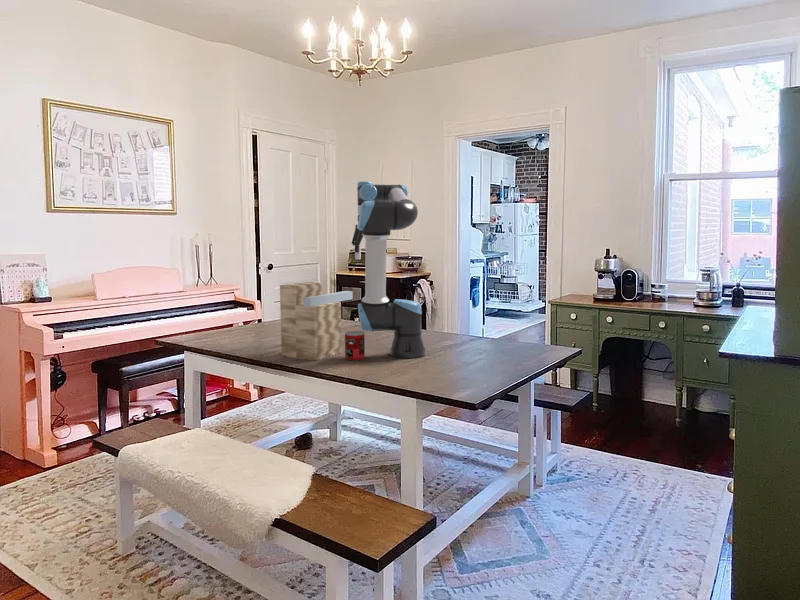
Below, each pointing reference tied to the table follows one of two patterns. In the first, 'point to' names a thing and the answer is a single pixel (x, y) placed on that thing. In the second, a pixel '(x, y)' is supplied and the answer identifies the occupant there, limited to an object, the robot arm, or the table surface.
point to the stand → (308, 323)
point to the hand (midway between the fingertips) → (365, 258)
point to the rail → (327, 298)
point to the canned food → (354, 345)
